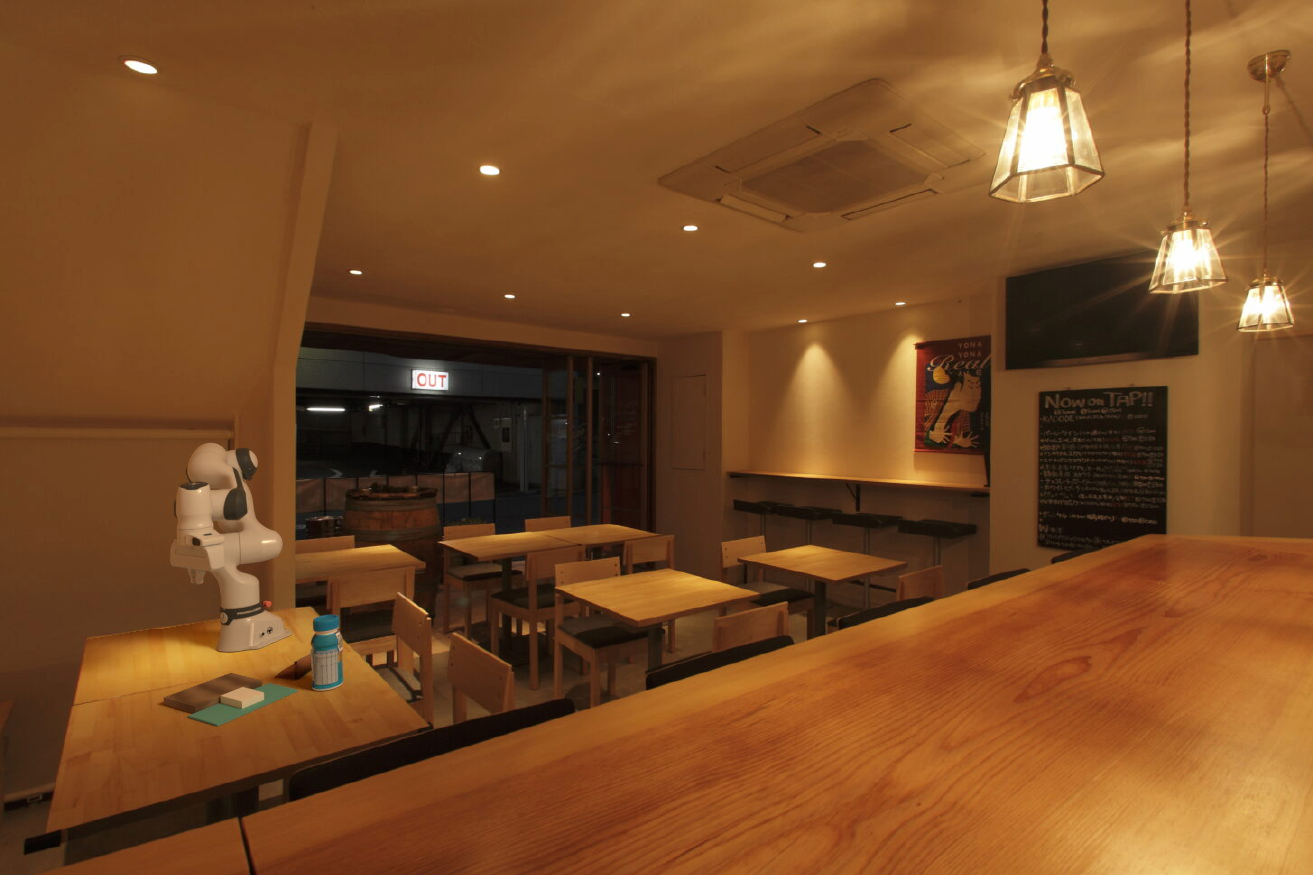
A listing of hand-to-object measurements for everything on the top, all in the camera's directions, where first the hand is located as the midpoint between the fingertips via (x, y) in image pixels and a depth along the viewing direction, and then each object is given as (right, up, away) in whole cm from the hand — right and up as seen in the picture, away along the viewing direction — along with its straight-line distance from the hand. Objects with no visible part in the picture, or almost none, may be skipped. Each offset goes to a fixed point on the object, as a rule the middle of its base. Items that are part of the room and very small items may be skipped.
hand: (197, 583), depth 187 cm
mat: (+24, -29, -15) cm, 41 cm away
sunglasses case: (+27, -29, +10) cm, 41 cm away
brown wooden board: (+12, -29, -10) cm, 33 cm away
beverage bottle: (+41, -29, -4) cm, 50 cm away
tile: (+23, -29, -14) cm, 40 cm away
